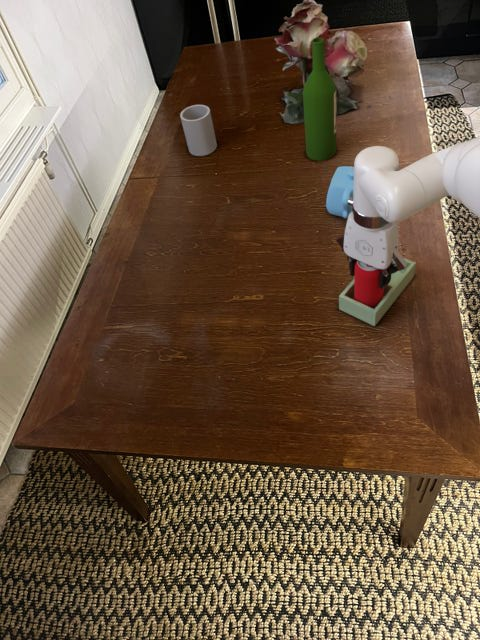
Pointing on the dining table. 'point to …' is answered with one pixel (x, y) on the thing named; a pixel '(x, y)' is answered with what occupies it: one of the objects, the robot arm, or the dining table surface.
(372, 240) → the robot arm
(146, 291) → the dining table surface
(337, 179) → the teapot
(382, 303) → the can holder
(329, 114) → the wine bottle
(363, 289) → the beverage can
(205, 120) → the cup
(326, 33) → the rose bouquet
